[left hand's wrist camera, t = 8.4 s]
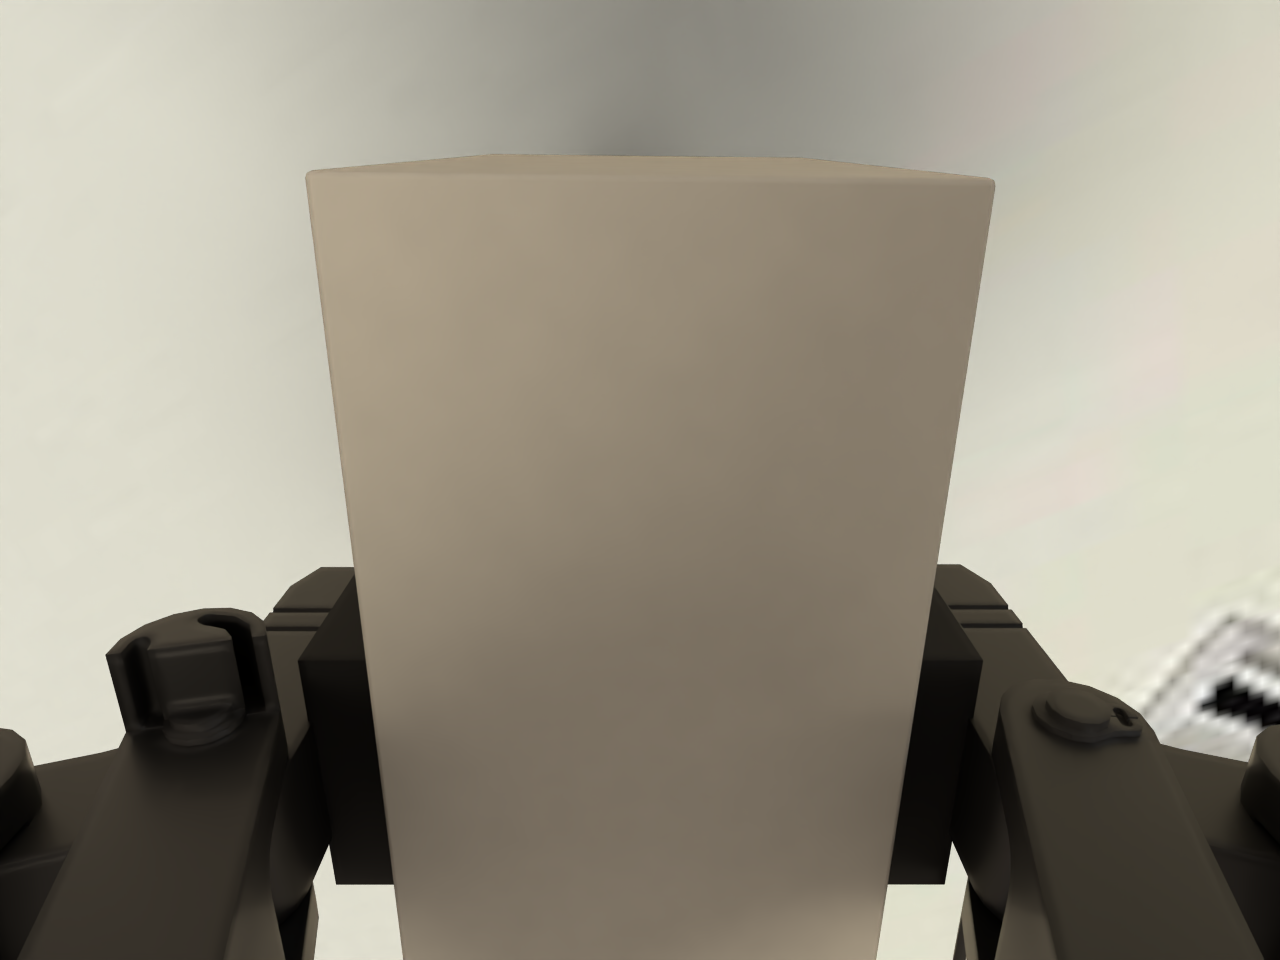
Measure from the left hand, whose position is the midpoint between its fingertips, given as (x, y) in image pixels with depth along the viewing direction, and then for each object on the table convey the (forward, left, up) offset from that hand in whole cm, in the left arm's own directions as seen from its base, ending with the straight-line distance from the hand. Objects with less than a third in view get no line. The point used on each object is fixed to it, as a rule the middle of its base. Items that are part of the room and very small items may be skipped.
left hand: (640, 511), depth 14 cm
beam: (+18, +8, -1) cm, 20 cm away
